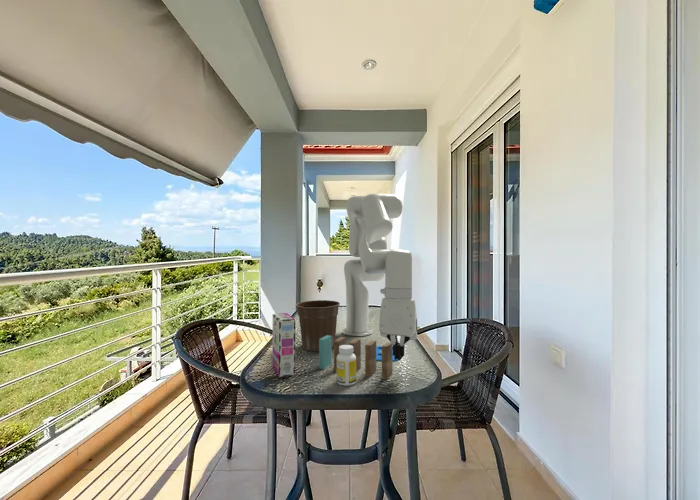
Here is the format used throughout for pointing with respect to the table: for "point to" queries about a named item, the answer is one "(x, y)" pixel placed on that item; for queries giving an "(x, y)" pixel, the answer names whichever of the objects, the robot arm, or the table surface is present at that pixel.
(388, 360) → the walnut domino
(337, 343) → the walnut domino
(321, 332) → the plant pot
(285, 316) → the candy bar box
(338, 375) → the supplement bottle
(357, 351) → the walnut domino
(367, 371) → the walnut domino
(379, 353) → the handheld gaming device
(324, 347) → the domino teal end
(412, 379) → the table surface
